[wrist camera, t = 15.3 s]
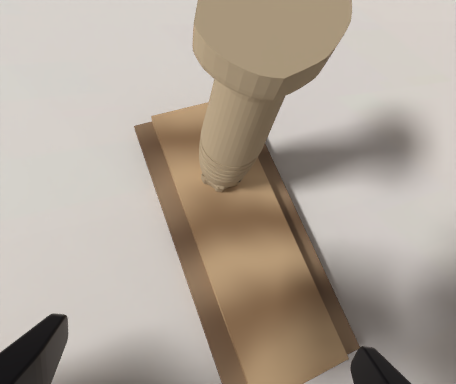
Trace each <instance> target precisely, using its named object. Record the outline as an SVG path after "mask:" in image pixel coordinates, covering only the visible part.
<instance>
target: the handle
mask: <svg viewBox="0 0 456 384" xmlns="http://www.w3.org/2000/svg"><path fill="white" fill-rule="evenodd" d="M351 15H352V0H198V3H197V8H196V14H195V20H194V28H193V52H194V54H195V56H196V58H197V60H198V61H199V63H200V64H201V66H202V67H203V69H204V70H205V71H206V72H207V73H209V74H210V75H211V76H212V77H213V78H214V83H213V87H212V91H211V95H210V99H209V103H208V107H207V110H206V114H205V118H204V122H203V125H202V130H201V135H200V144H199V162H200V167H201V171H202V174H201V179H202V181H203V183H204V184H207V185H210V186H212V187H213V188H214V189H215V191H216V192H222V191H223V190H224V189H226V188H228V187H231V186H236V185H238V184H239V183H240V181H241V180H242V179H243V177H244V176H245V175H246V174H247V173H248V171H249V170H250V168H251V167H252V166H253V164H254V163H255V161H256V159H257V158H258V156H259V154H260V153H261V151H262V149H263V146H264V144H265V142H266V139H267V137H268V135H269V132H270V130H271V128H272V125H273V123H274V120H275V118H276V116H277V114H278V111H279V109H280V107H281V105H282V102H283V100H284V98H285V95H288V94H290V93H292V92H294V91H296V90H298V89H300V88H301V87H303V86H304V85H306V84H307V83H309V82H310V81H312V80H313V79H314V78H316V76H317V75H318V74H319V73H320V71H321V70H322V68H323V67H324V65H325V64H326V62H327V60H328V59H329V57H330V56H331V54H332V53H333V51H334V49H335V48H336V46H337V45H338V43H339V42H340V40H341V38H342V37H343V35H344V33H345V32H346V30H347V28H348V26H349V24H350V21H351Z"/></svg>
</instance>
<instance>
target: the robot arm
mask: <svg viewBox="0 0 456 384" xmlns="http://www.w3.org/2000/svg"><path fill="white" fill-rule="evenodd" d="M67 339H68V318H67V316H66V315H64V314H51V315H49V316H48V317H46V318H45V319H44V320H42V321H41V322H40V323H38V324H37V325H36V326H34V327H33V328H32V329H31V330H29V331H28V332H27V333H25V334H24V335H23V336H21V337H20V338H19V339H17V340H16V341H15V342H13V343H12V344H11V345H10V346H8V347H7V348H6V349H4V350H3V351H2V352H0V384H51V382H52V379H53V377H54V374H55V372H56V369H57V366H58V364H59V361H60V359H61V356H62V353H63V351H64V348H65V346H66V343H67ZM351 374H352V378H353V382H354V384H411V383H410V382H409V381H408V380H407V379H406V378H405V377H404V376H403V375H402V374H401V373H400V372H399V371H398V370H397V369H395V368H394V367H393V366H392V365H391V364H390V363H389V362H388V361H387V360H386V359H385V358H384V357H383V356H382V355H381V354H380V353H379V352H378V351H377V350H376V349H374V348H372V347H365V346H361V347H360V348H359V349H358V351H357V352H356V354H355V356H354V358H353V360H352V362H351Z"/></svg>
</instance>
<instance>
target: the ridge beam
mask: <svg viewBox="0 0 456 384" xmlns="http://www.w3.org/2000/svg"><path fill="white" fill-rule="evenodd" d="M208 103H209V102H208ZM208 103H204V104H200V105H196V106H191V107H187V108H183V109H179V110H175V111H171V112H167V113H162V114H158V115H154V116H151V118H152V122H148V123H144V124H140V125H136V126H134V128H135V132H136V135H137V137H138V140H139V143H140V146H141V149H142V152H143V155H144V158H145V161H146V164H147V167H148V169H149V172H150V175H151V178H152V181H153V184H154V187H155V190H156V193H157V196H158V199H159V202H160V204H161V207H162V210H163V213H164V216H165V219H166V222H167V225H168V228H169V231H170V234H171V236H172V239H173V242H174V245H175V248H176V251H177V254H178V257H179V260H180V263H181V266H182V269H183V271H184V274H185V277H186V280H187V283H188V286H189V289H190V292H191V295H192V298H193V301H194V303H195V306H196V309H197V312H198V315H199V318H200V321H201V324H202V327H203V330H204V333H205V336H206V338H207V341H208V344H209V347H210V350H211V353H212V356H213V359H214V362H215V365H216V368H217V370H218V373H219V376H220V379H221V382H222V384H303V383H305V382H307V381H309V380H311V379H312V378H314V377H316V376H318V375H320V374H322V373H324V372H325V371H327V370H329V369H331V368H333V367H335V366H337V365H338V364H340V363H342V362H344V361H346V360H348V359H349V358H348V356H347V355H348V354H349V353H351V352H353V351H355V350H357V349H359V348H360V346H359V344H358V342H357V340H356V338H355V336H354V334H353V331H352V329H351V327H350V325H349V323H348V321H347V318H346V316H345V314H344V312H343V310H342V308H341V306H340V303H339V301H338V299H337V297H336V295H335V293H334V291H333V288H332V286H331V284H330V282H329V280H328V278H327V276H326V273H325V271H324V269H323V267H322V265H321V263H320V260H319V258H318V256H317V254H316V252H315V250H314V248H313V245H312V243H311V241H310V239H309V237H308V235H307V233H306V230H305V228H304V226H303V224H302V222H301V220H300V217H299V215H298V213H297V211H296V209H295V207H294V205H293V202H292V200H291V198H290V196H289V194H288V192H287V190H286V187H285V185H284V183H283V181H282V179H281V177H280V175H279V172H278V170H277V168H276V166H275V164H274V162H273V159H272V157H271V155H270V153H269V151H268V149H267V147H266V144H264V146H263V149H262V151H261V153H260V154H259V156H258V158H257V159H256V161H255V163H254V164H253V166H252V167H251V168H250V170H249V171H248V173H247V174H246V175H245V176H244V177H243V179H242V180H241V181H240V183H239V184H238V185H236V186H231V187H228V188H226V189H224V190H223V191H222V192H216V191H215V189H214V188H213V187H212V186H210V185H207V184H204V183H203V181H202V179H201V174H202V171H201V167H200V162H199V144H200V135H201V130H202V125H203V122H204V118H205V114H206V110H207V107H208Z"/></svg>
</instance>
